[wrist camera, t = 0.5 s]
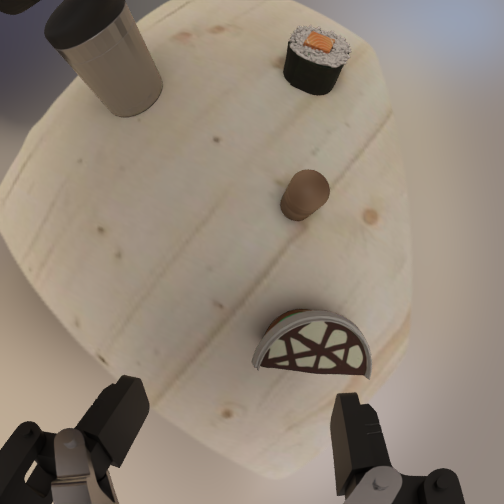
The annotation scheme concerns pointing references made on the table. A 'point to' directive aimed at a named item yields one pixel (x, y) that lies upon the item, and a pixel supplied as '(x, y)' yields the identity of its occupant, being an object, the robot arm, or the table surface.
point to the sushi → (315, 59)
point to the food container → (314, 344)
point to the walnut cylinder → (304, 195)
